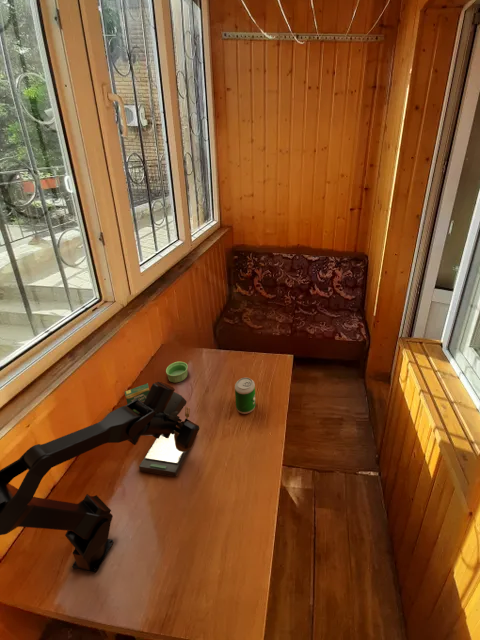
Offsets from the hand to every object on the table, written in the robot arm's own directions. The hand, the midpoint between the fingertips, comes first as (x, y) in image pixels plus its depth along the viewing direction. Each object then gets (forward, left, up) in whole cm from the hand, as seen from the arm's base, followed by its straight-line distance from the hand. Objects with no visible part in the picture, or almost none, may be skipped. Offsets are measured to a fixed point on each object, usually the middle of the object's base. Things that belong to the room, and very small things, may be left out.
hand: (186, 424), depth 98 cm
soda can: (+21, -13, -12) cm, 28 cm away
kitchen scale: (-1, +7, -12) cm, 14 cm away
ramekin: (+33, +21, -12) cm, 41 cm away
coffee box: (+11, +24, -12) cm, 29 cm away
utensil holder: (-1, 0, -7) cm, 7 cm away
